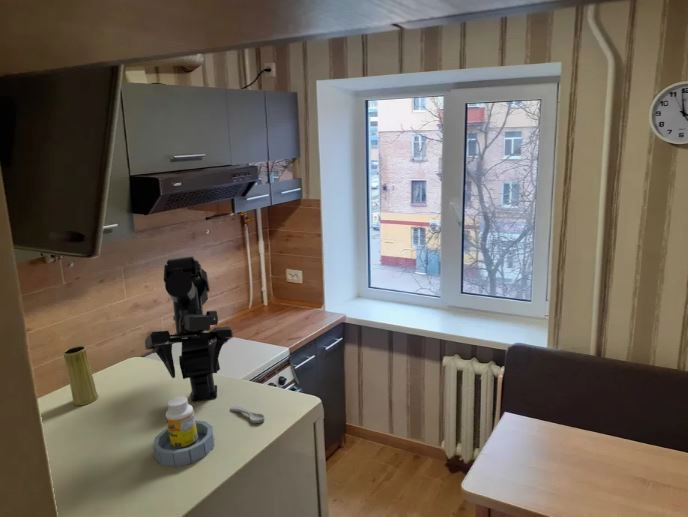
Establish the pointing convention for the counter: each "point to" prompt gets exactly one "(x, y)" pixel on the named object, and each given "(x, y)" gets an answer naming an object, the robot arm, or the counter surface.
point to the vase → (80, 376)
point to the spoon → (253, 417)
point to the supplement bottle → (181, 423)
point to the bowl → (186, 455)
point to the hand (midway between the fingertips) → (194, 375)
